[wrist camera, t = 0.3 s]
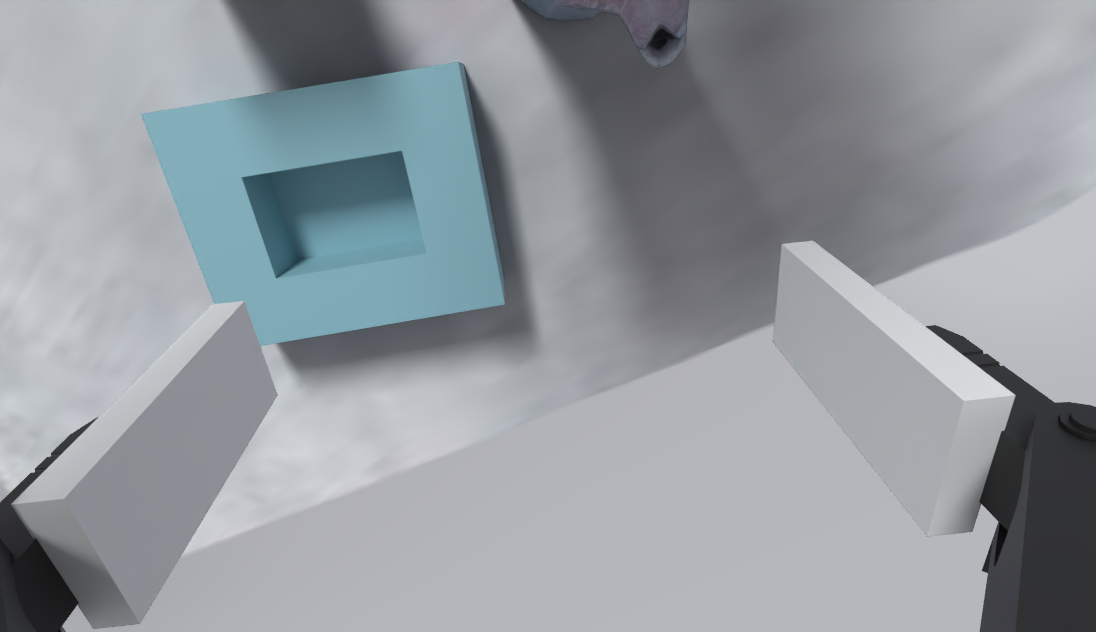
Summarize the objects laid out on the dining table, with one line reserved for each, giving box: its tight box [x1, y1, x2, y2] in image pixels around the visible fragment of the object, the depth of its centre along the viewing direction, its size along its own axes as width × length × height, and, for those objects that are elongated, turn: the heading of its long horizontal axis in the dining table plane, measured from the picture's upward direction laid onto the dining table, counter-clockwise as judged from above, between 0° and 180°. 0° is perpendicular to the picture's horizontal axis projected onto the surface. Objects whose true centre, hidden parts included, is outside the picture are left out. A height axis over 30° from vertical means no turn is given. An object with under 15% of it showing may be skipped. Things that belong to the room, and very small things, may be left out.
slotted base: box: [141, 62, 505, 346], centre depth 37 cm, size 14×17×5 cm
